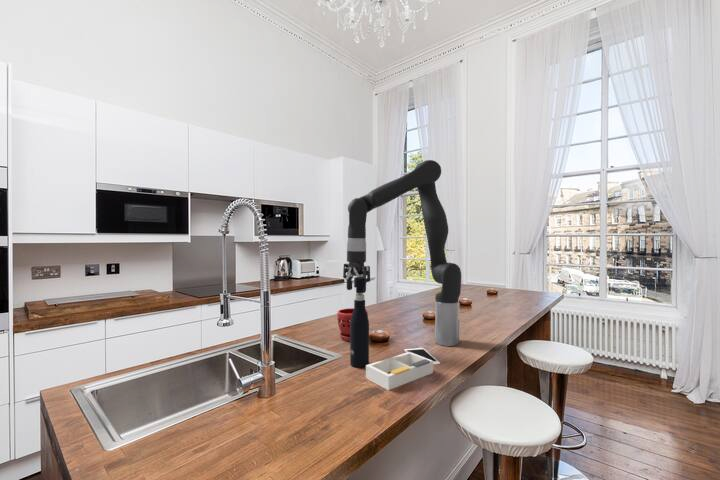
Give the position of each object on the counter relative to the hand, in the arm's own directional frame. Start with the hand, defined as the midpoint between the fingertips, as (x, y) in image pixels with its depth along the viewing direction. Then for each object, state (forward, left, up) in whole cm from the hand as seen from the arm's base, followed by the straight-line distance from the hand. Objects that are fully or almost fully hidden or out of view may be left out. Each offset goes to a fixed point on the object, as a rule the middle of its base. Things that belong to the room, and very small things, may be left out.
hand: (355, 291), depth 131 cm
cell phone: (-14, +22, -23) cm, 35 cm away
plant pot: (-7, -11, -23) cm, 26 cm away
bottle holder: (+4, +29, -23) cm, 37 cm away
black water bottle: (+9, +14, -23) cm, 28 cm away
